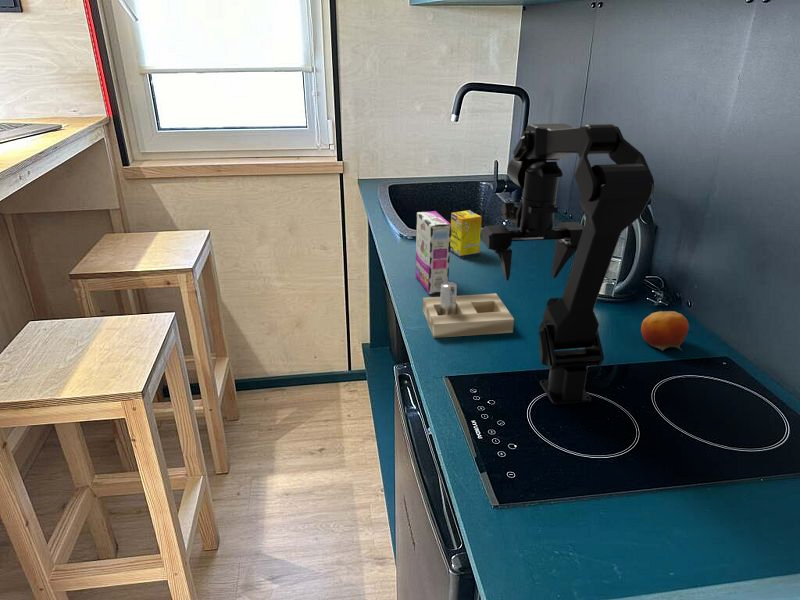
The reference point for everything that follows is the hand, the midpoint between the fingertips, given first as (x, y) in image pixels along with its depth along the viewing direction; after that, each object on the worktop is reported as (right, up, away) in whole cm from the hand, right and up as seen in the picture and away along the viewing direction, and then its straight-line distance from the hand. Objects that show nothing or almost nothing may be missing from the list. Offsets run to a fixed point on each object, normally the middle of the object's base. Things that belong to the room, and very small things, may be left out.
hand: (530, 278), depth 106 cm
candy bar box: (-17, -1, +27) cm, 32 cm away
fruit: (+26, -13, +2) cm, 29 cm away
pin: (-15, -8, +9) cm, 19 cm away
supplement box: (-7, +8, +45) cm, 47 cm away
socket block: (-11, -8, +10) cm, 17 cm away
